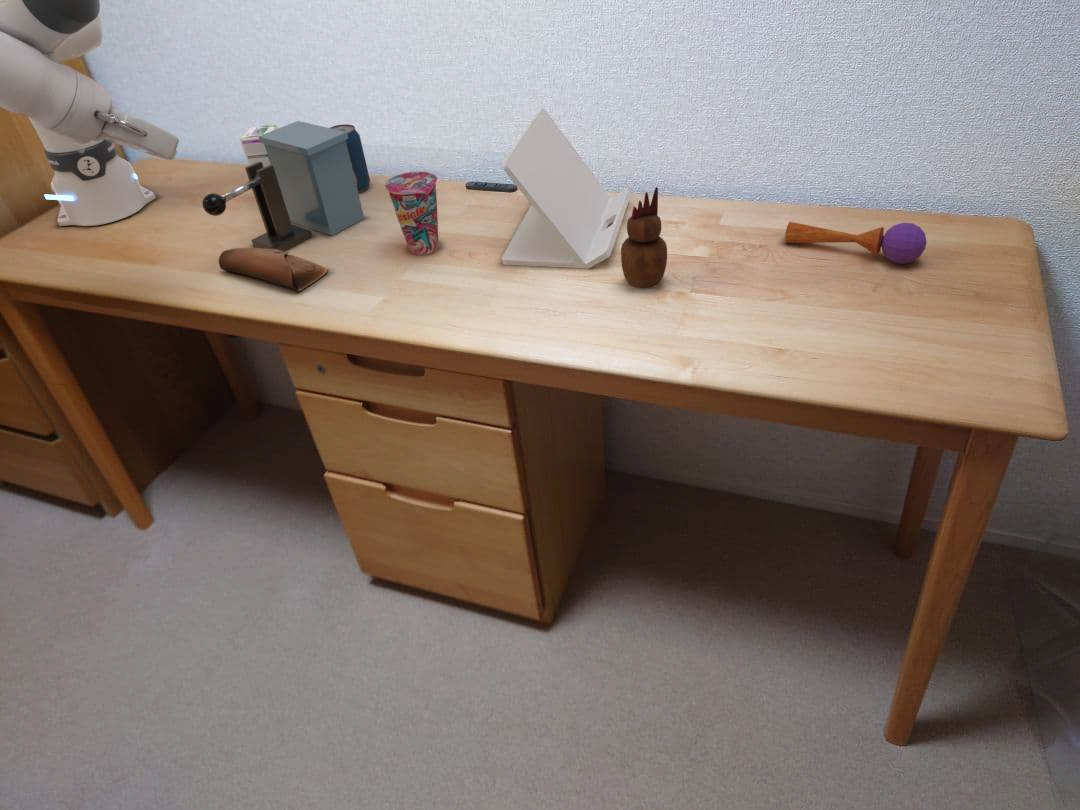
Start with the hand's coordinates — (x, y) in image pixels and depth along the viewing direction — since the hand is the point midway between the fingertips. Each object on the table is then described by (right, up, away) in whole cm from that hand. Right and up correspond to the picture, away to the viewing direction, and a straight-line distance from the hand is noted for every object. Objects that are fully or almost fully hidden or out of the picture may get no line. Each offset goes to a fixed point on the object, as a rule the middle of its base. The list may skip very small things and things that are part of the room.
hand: (170, 153), depth 117 cm
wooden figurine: (+73, -20, -1) cm, 75 cm away
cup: (+37, -12, +14) cm, 41 cm away
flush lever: (+6, -4, +12) cm, 14 cm away
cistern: (+16, -4, +27) cm, 32 cm away
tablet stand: (+62, -9, +15) cm, 64 cm away
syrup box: (+5, +1, +35) cm, 35 cm away
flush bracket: (+10, -9, +21) cm, 25 cm away
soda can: (+19, +5, +38) cm, 42 cm away
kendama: (+105, -15, +1) cm, 106 cm away
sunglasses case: (+12, -16, +12) cm, 24 cm away
